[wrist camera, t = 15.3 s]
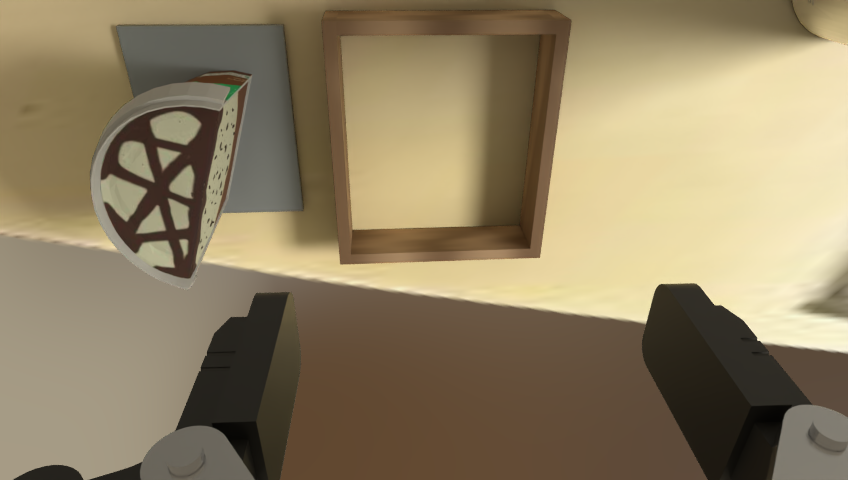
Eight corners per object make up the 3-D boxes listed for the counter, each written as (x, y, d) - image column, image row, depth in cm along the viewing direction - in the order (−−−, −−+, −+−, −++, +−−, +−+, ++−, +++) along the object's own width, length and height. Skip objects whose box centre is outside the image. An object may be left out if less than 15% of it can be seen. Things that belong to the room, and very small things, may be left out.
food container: (154, 19, 35) (84, 59, 26) (256, 51, 36) (221, 99, 28) (136, 194, 41) (73, 273, 32) (224, 216, 42) (187, 297, 34)
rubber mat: (283, 24, 36) (282, 25, 36) (303, 208, 43) (302, 210, 42) (118, 25, 35) (116, 26, 35) (164, 212, 42) (163, 214, 42)
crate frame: (555, 10, 37) (571, 20, 34) (528, 233, 45) (539, 257, 42) (325, 10, 36) (321, 21, 33) (342, 239, 44) (340, 264, 41)
